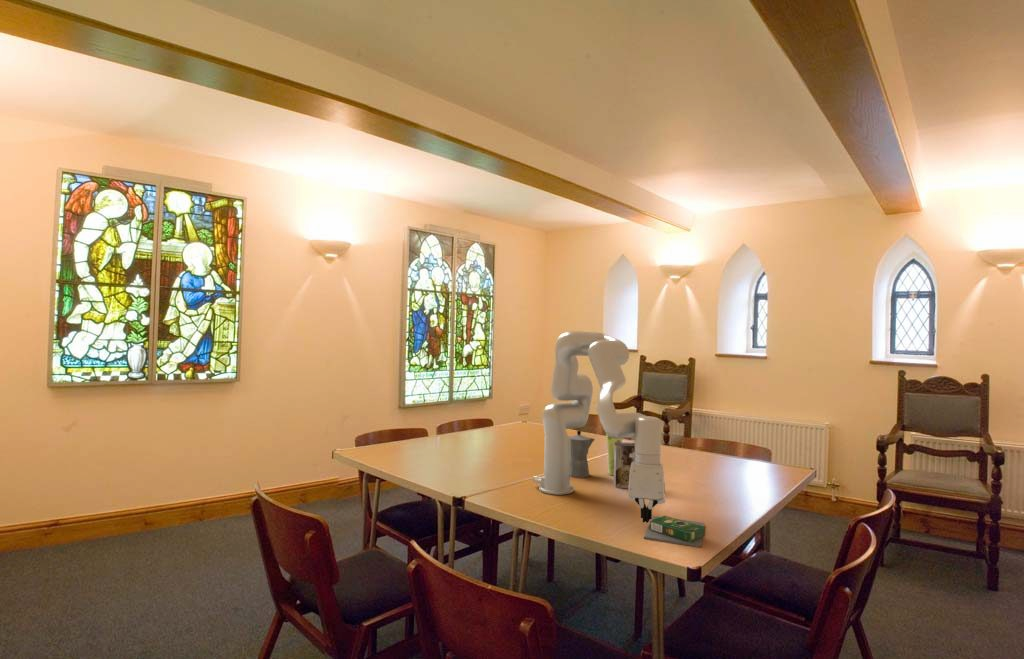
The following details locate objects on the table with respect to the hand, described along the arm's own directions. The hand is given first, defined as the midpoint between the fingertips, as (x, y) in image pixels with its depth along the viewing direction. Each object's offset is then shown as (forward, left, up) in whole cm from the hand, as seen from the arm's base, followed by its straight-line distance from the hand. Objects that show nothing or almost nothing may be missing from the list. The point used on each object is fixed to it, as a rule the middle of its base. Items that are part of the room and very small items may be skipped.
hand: (646, 521), depth 161 cm
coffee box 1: (-14, +44, -2) cm, 46 cm away
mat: (+8, 0, -2) cm, 9 cm away
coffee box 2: (+3, -1, 0) cm, 3 cm away
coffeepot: (-36, +52, -2) cm, 63 cm away
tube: (-22, +60, -2) cm, 64 cm away
